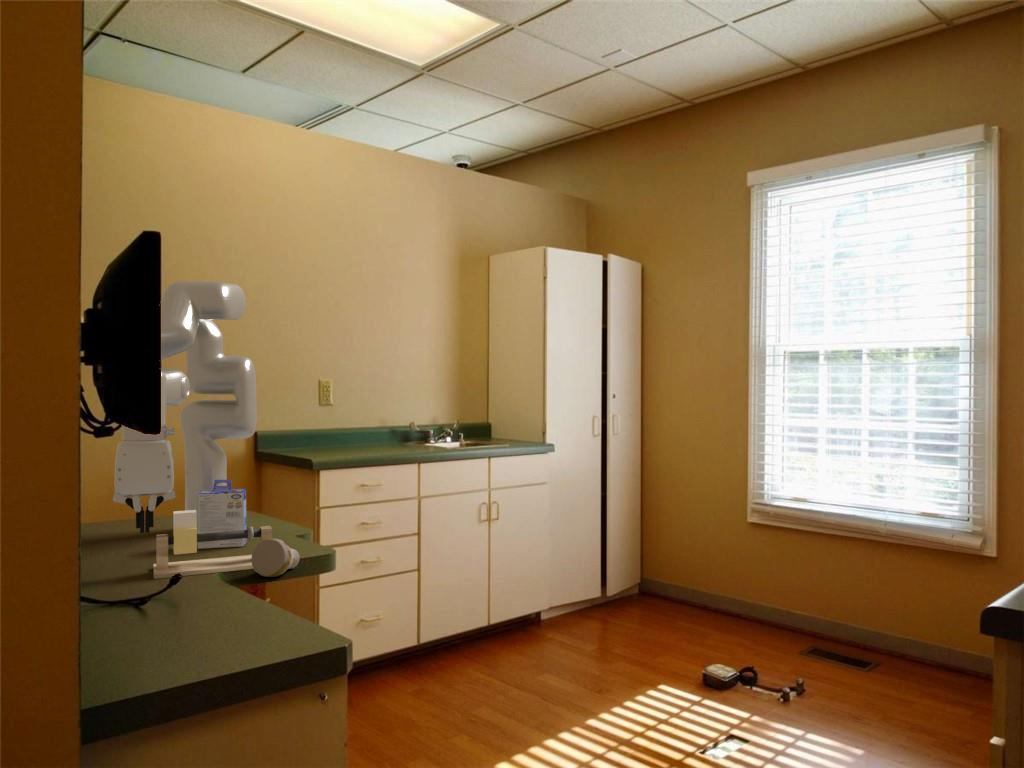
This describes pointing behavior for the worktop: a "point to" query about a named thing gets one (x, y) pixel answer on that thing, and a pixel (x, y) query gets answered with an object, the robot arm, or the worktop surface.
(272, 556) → the mug
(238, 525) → the ink cartridge box
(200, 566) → the roller holder rack
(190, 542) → the sleeve
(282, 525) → the worktop surface
